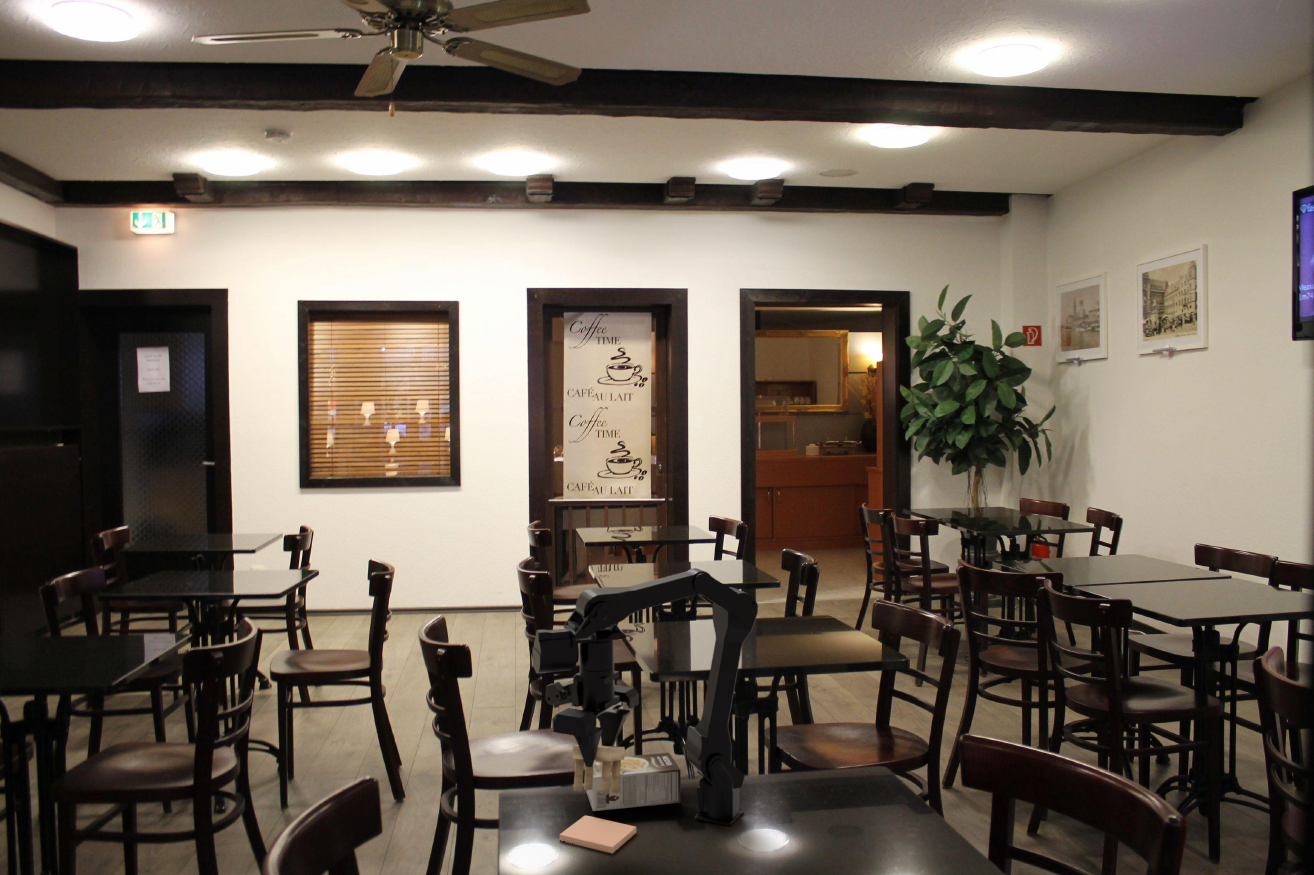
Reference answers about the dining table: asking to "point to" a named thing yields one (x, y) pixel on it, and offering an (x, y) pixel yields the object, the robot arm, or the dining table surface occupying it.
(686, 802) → the dining table surface
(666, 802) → the coffee box
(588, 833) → the terracotta tile
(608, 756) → the oak stool
